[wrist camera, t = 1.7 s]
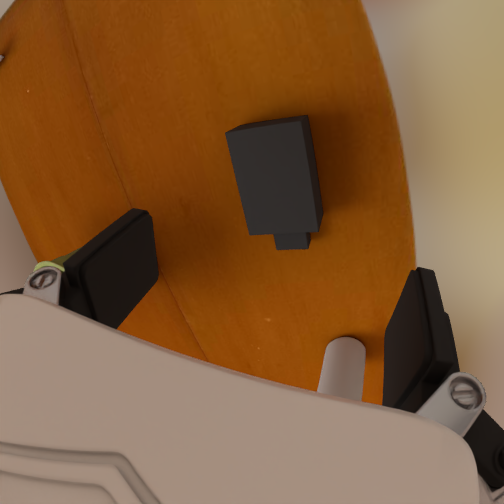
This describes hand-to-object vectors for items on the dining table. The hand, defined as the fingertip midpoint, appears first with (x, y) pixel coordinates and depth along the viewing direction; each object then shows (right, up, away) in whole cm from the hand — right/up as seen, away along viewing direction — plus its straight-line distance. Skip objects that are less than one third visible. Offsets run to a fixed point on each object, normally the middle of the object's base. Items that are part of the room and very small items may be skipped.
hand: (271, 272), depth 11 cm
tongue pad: (+2, +7, +17) cm, 19 cm away
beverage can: (+11, -11, +25) cm, 29 cm away
